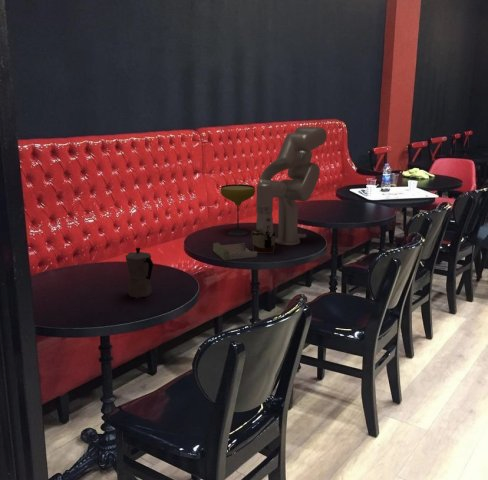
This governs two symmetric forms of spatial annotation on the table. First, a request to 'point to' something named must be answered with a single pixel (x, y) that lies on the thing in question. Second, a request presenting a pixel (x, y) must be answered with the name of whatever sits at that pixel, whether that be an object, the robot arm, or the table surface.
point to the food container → (262, 242)
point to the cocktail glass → (237, 200)
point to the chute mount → (233, 251)
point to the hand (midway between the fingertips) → (263, 244)
